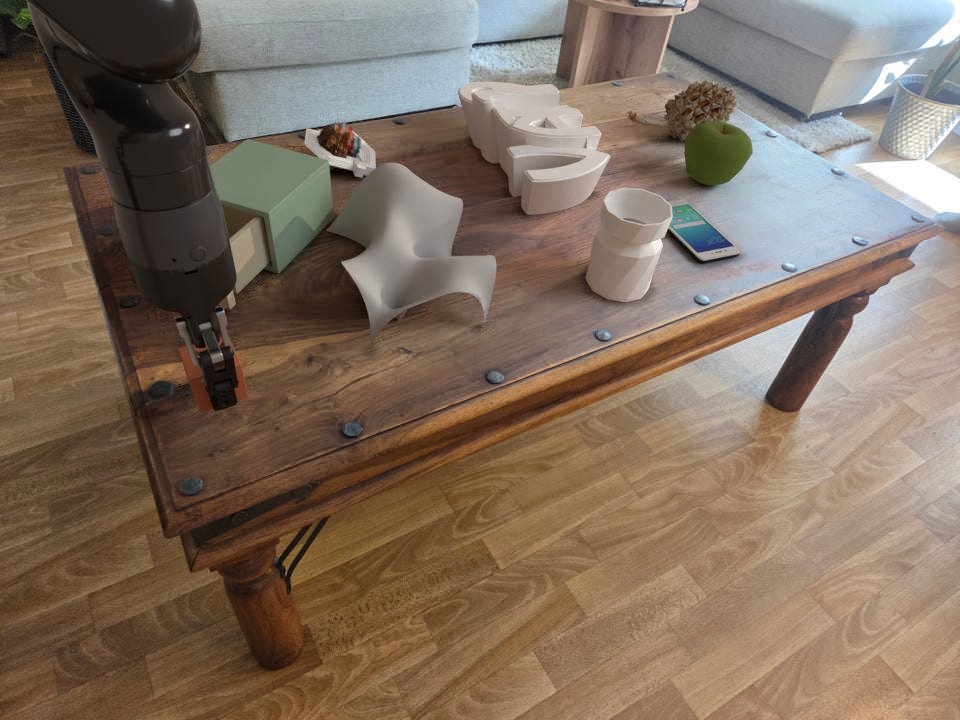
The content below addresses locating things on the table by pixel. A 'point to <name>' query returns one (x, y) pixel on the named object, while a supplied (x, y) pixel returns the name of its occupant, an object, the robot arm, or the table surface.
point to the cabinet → (277, 194)
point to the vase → (628, 243)
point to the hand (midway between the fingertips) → (217, 387)
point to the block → (198, 386)
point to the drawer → (244, 248)
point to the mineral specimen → (341, 148)
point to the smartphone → (699, 234)
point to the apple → (716, 152)
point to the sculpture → (407, 246)
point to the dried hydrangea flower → (692, 109)
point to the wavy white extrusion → (534, 143)
